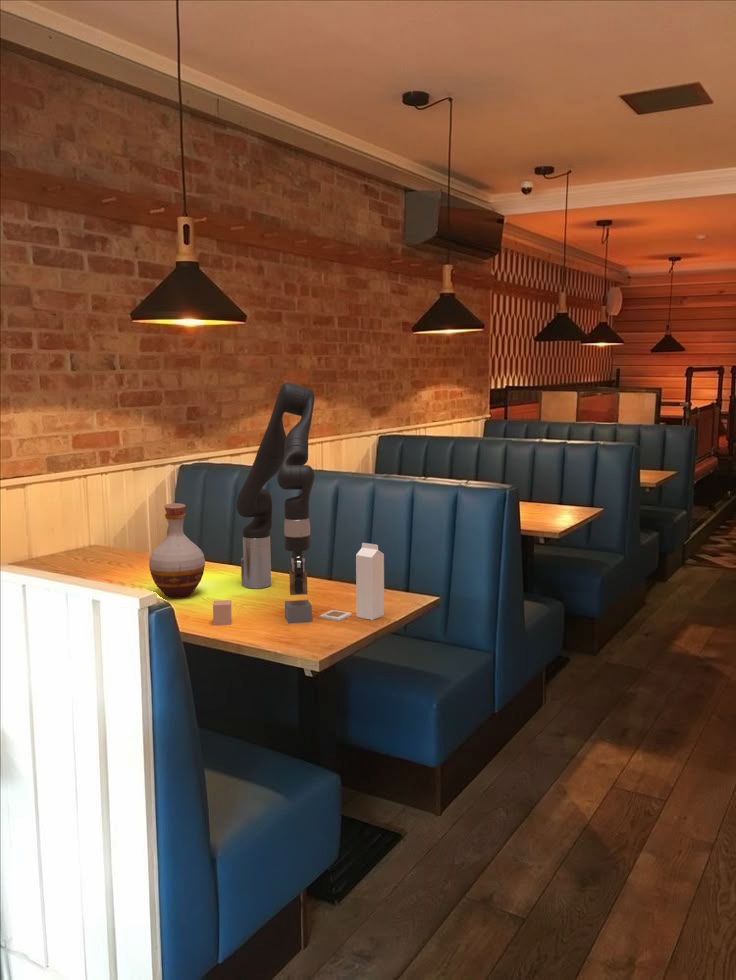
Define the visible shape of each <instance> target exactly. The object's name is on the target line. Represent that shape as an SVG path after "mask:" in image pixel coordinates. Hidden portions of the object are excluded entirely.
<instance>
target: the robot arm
mask: <svg viewBox="0 0 736 980" xmlns="http://www.w3.org/2000/svg"><path fill="white" fill-rule="evenodd" d="M314 407H315V393H314V390H313V389H311V388H309V387H307V386H303V385H299V384H296V383H293V382H289V381H288V382H287V381H286V382H283V383H282V384H281V386H280V388H279V390H278V393H277V395H276V400H275V403H274V405H273V410H272V413H271V416H270V418H269V422H268V425H267V427H266V429H265V432H264V434H263V437H262V440H261V441H260V443H259V447H258V449H257V452H256V455H255V459H254V461H253V463H252V466H251V469H250V471H249V473H248V475H247V477H246V479H245V481H244V483H243V484H242V487H241V489H240V490H239V492H238V496H237V499H236V504H235V505H236V511H237V514H238V515H239V516H240V517H242V518H253V519H252V521H251V522H249V524H248V525H247V524H246V526H244V527H243V528H242V555H243V557H241V559H240V571H241V575H240V576H241V586H243V587H245V588H247V589H264V588H269V587H271V586H272V563H271V561H272V560H271V559H272V558H271V529H272V526H273V523H272V522H273V499H272V496H271V493H270V491H268V489H266V488H264V486H265V485H266V484H267V483H268V482H269V481H270V480H271V479H272V478H273V477H275V475H276V474H277V478H276V479H277V483H278V484H277V485H279V487H280V488H281V489H282V490H288V491H292V490H296V491H297V490H302V491H301V493H300V494H299V495H297V496H292V497H289V498H286V499H285V501H284V525H283V529H284V530H283V531H284V532H283V533H284V550H285V551H288V552H291V553H292V554H291V555H290V562H291V568H292V569H291V571H292V572H293V573H294V580H295V593H302V592H303V581H302V580H303V578H304V577H303V572H304V570H305V562H306V556H305V554H303V552H305V551H306V552H307V551H309V550H311V523H310V497H311V492H312V489H313V485H314V481H315V478H316V477H315V471H314V468H313V467H312V466H310V465H309V464H307V462H308V461H309V436H310V430H311V425H312V420H313V413H314ZM285 413H288V414H291V415H295V416H299V417H300V419H299V421H298V423H296V424H295V425H294V427H292V428H291V429H290V430H289V431H288V433H287V434H286V431H285V428H284V422H283V421H284V420H283V419H284V418H283V417H284V414H285ZM296 573H301V576H296Z"/></svg>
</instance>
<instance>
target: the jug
mask: <svg viewBox="0 0 736 980" xmlns="http://www.w3.org/2000/svg"><path fill="white" fill-rule="evenodd" d="M163 507H164V509H165V510H164V511H165V514H164V517H165V519H166V521H167V529H166V536H165V538H164V539H163V541H161V543H159V545H157V546H156V547H155V549H154V550H153V551H152V552H151V554H150V557H149V561H148V565H149V572H150V575H151V579H152V580H153V582H154V584H155V585H156V587H157V588H158V589H159V590H160V592H162V594H163V595H164V596H165V597H166V598H170V599H182V598H188V597H190V596H191V595H192V594H193V592H194V591H195V590H196V589H197V587H198V586H199V584H200V582H201V581H202V578H203V575H204V571H205V566H206V559H205V554H204V552H203V551H202V549H201V548H199V546H198V545H197V544H196V543H194V542H193V541H191V539H189V538H188V536H186V535H185V533H184V522H185V521H184V520H185V518H186V515H187V513H185V511H186V507H187V506H186V504H184V503H179V502H174V503H167V504H164V506H163Z"/></svg>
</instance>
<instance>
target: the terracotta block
mask: <svg viewBox="0 0 736 980" xmlns="http://www.w3.org/2000/svg"><path fill="white" fill-rule="evenodd" d="M232 611H233V610H232V600H231V599H223V600H221V599H220V600H213V604H212V615H213V618H212V619H213V626H227V625H229V626H230V625H232V620H233V616H232Z"/></svg>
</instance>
